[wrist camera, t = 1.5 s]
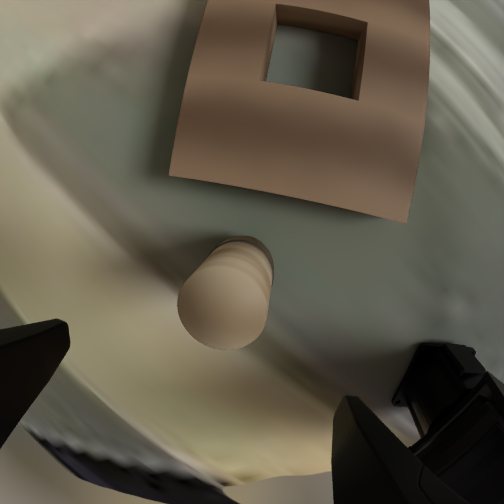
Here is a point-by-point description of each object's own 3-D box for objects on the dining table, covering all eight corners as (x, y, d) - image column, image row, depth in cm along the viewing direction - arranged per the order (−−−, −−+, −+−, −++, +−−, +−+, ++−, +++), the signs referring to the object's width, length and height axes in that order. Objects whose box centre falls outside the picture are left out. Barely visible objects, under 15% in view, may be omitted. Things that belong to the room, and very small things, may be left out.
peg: (268, 294, 21) (258, 359, 14) (211, 281, 21) (173, 338, 14) (280, 237, 20) (277, 277, 12) (220, 225, 20) (180, 257, 13)
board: (390, 216, 19) (405, 223, 16) (185, 174, 20) (168, 175, 17) (414, -2, 14) (427, -20, 11) (235, -38, 15) (228, -59, 12)
